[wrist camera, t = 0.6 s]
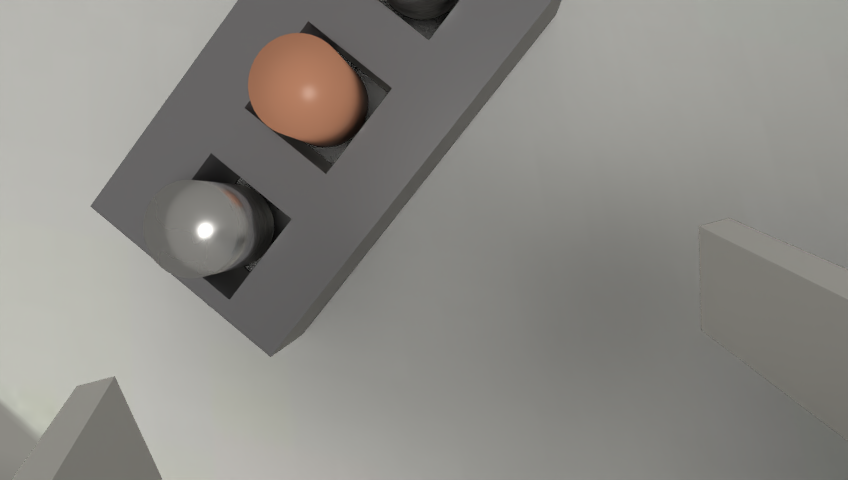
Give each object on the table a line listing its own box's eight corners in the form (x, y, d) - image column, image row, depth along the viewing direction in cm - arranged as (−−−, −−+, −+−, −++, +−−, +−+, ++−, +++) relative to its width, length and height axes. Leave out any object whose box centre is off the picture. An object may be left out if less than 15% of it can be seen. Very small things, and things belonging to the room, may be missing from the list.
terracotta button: (385, 95, 29) (367, 75, 24) (332, 164, 29) (305, 157, 25) (318, 41, 29) (288, 12, 25) (266, 111, 30) (228, 94, 25)
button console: (556, 13, 31) (569, -23, 26) (301, 334, 34) (270, 356, 29) (385, -120, 32) (367, -180, 27) (147, 206, 34) (90, 206, 29)
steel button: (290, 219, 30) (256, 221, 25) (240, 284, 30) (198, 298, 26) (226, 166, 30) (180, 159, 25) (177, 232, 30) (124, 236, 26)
